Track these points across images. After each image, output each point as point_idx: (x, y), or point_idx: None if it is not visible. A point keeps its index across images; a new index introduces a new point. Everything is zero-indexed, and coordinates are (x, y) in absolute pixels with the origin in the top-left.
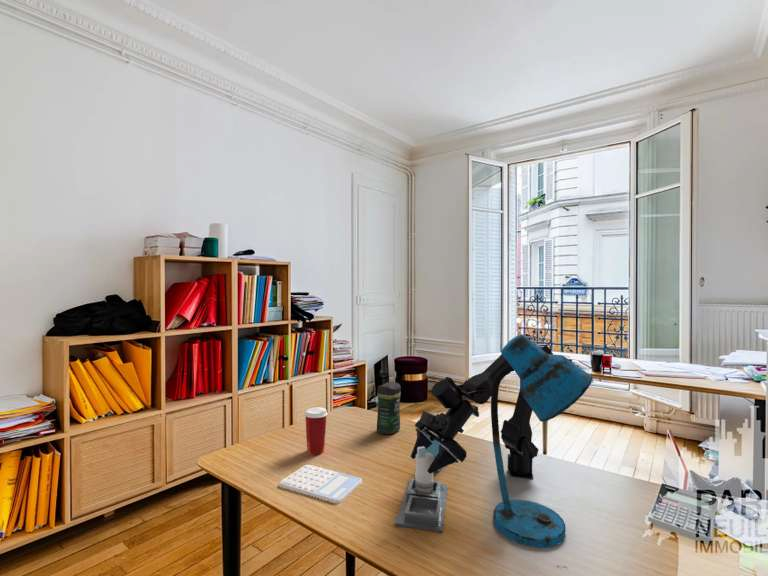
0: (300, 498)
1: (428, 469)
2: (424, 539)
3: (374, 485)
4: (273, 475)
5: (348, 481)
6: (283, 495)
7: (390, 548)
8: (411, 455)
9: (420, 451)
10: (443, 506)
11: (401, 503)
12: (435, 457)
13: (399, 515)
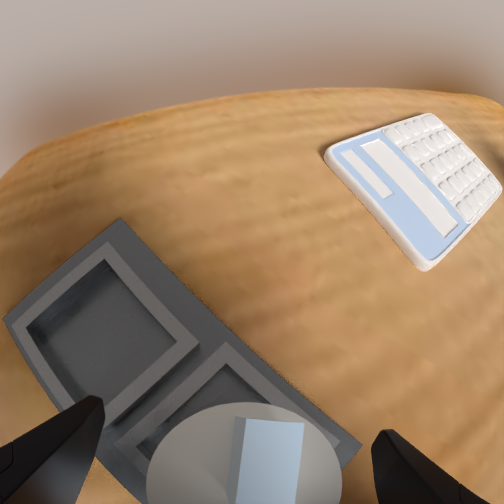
0: (373, 118)
1: (88, 400)
2: (24, 255)
3: (390, 299)
4: (466, 133)
5: (420, 222)
6: (392, 106)
7: (67, 169)
8: (391, 434)
9: (239, 438)
10: None
11: (206, 307)
12: (30, 471)
13: (143, 252)
